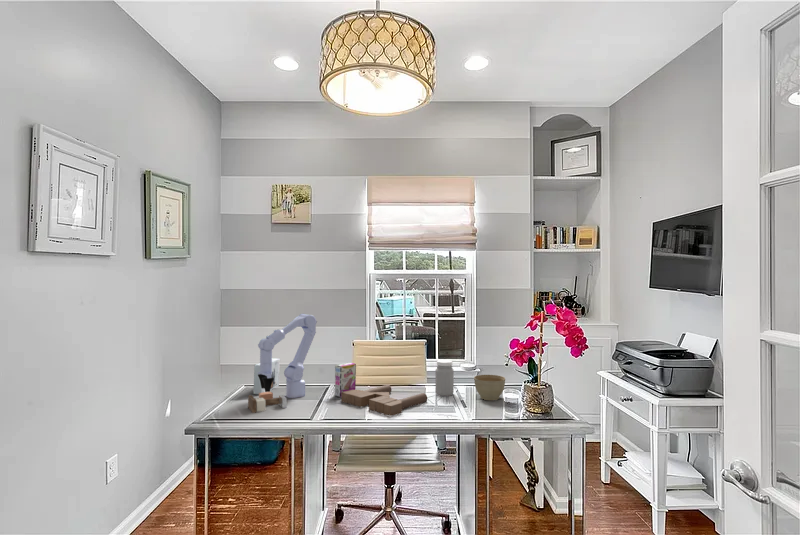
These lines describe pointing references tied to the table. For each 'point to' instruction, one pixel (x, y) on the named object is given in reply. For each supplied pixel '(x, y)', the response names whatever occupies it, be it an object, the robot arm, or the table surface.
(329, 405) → the table surface
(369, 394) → the bookends
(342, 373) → the candy bar box
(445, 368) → the jar
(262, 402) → the cream book
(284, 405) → the grey rectangular block
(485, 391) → the planter bowl
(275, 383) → the skincare box
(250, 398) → the wooden shelf
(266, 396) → the salmon orange block
